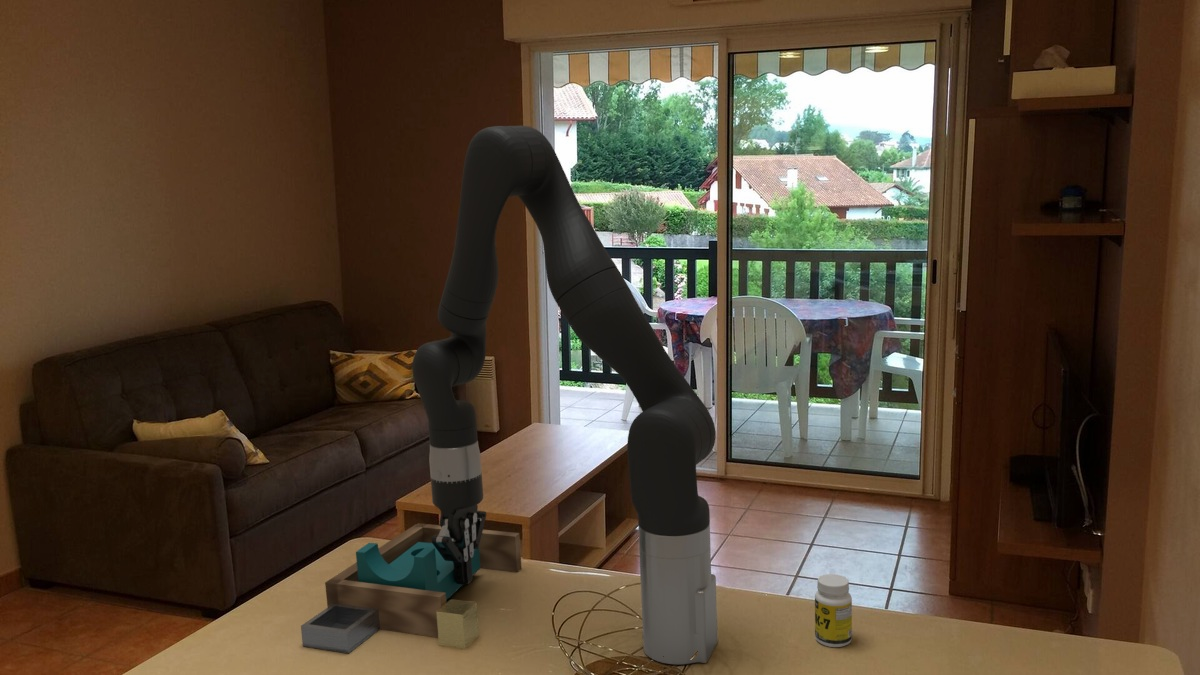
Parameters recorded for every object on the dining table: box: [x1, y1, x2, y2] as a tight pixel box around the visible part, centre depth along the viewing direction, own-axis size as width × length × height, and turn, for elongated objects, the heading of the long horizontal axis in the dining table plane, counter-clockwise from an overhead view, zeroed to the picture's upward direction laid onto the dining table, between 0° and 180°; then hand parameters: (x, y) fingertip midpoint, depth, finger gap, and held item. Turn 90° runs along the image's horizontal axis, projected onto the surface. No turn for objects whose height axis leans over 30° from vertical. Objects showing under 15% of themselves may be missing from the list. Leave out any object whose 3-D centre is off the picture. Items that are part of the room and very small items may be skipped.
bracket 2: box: [324, 522, 522, 638], centre depth 147 cm, size 19×25×6 cm
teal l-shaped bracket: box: [355, 542, 481, 601], centre depth 146 cm, size 18×11×10 cm, turn 163°
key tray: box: [300, 603, 381, 654], centre depth 134 cm, size 8×8×3 cm
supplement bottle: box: [814, 573, 853, 648], centre depth 127 cm, size 5×5×8 cm
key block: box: [436, 598, 480, 650], centre depth 132 cm, size 4×4×5 cm
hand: (464, 582), depth 145 cm, fingers closed
